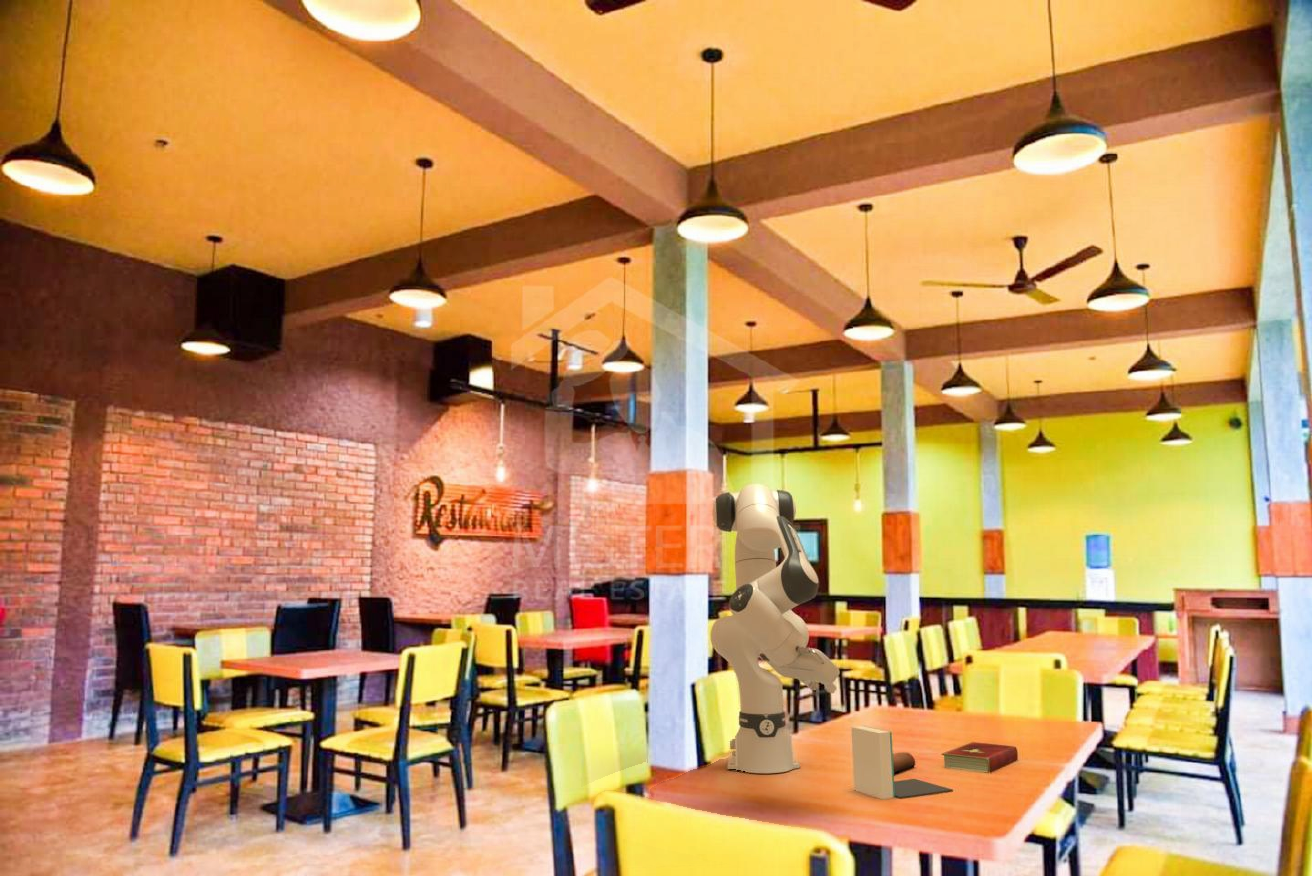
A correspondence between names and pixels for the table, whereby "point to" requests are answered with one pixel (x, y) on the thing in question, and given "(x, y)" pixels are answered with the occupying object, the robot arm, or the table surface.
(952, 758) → the hardcover book
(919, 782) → the mat
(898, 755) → the sweet potato
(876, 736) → the cream rectangular block
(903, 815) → the table surface
